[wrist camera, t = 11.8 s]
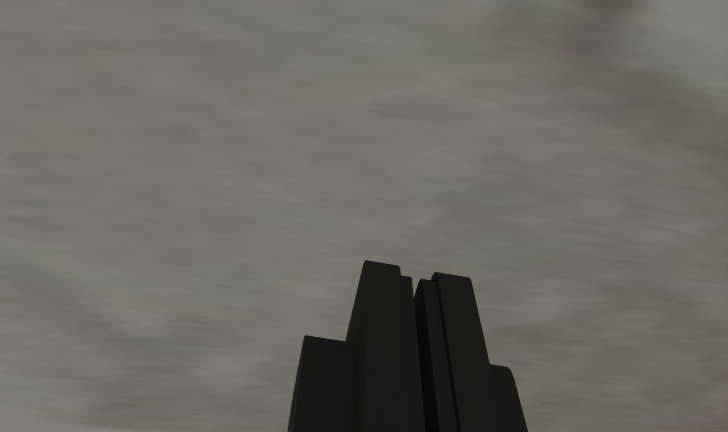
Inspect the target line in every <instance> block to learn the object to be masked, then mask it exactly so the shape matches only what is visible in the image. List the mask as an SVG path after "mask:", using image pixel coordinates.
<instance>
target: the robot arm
mask: <svg viewBox="0 0 728 432" xmlns="http://www.w3.org/2000/svg"><path fill="white" fill-rule="evenodd" d="M288 432H528V430H527V426H526V422H525V418H524V415H523V411H522V407H521V403H520V399H519V395H518V392H517V388H516V384H515V380H514V377H513V374H512V372H511V370H510V369H509V368H508V367H504V366H498V365H492V364H490V363H489V358H488V354H487V349H486V345H485V340H484V336H483V331H482V327H481V322H480V318H479V313H478V309H477V304H476V300H475V295H474V291H473V286H472V282H471V279H470V278H468V277H463V276H457V275H451V274H445V273H439V272H435V273H434V274H433V276H432V278H431V280H426V279H420V281H419V283H418V286H417V289H416V293H415V296H414V297H413V286H412V278H411V277H408V276H402V275H401V272H400V267H399V266H397V265H391V264H385V263H379V262H373V261H367V260H365V262H364V264H363V268H362V272H361V276H360V280H359V285H358V289H357V293H356V298H355V302H354V306H353V311H352V315H351V319H350V323H349V328H348V332H347V336H346V341H339V340H332V339H326V338H320V337H313V336H307V335H305V336H304V340H303V345H302V350H301V355H300V360H299V365H298V371H297V376H296V382H295V387H294V393H293V399H292V405H291V412H290V418H289V425H288Z"/></svg>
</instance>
